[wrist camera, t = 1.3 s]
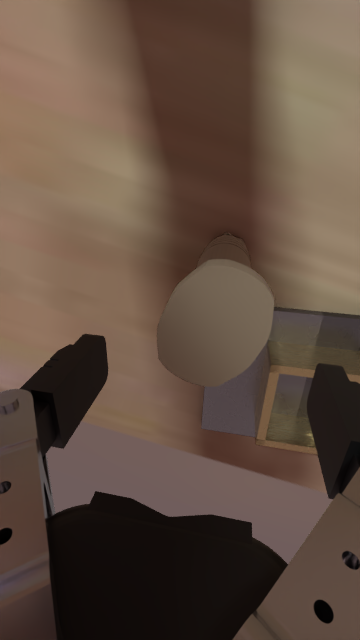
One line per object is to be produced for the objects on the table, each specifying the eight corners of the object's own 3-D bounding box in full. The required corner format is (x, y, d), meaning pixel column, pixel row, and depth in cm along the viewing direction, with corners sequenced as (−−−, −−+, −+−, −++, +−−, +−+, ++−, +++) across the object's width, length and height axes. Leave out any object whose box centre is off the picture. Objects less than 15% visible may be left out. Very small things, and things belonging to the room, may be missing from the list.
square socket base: (212, 301, 30) (206, 323, 26) (442, 323, 27) (479, 353, 23) (202, 423, 37) (196, 456, 33) (382, 451, 34) (401, 492, 30)
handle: (271, 229, 26) (298, 298, 13) (234, 292, 29) (225, 399, 16) (219, 203, 26) (193, 246, 13) (187, 269, 29) (141, 359, 16)
